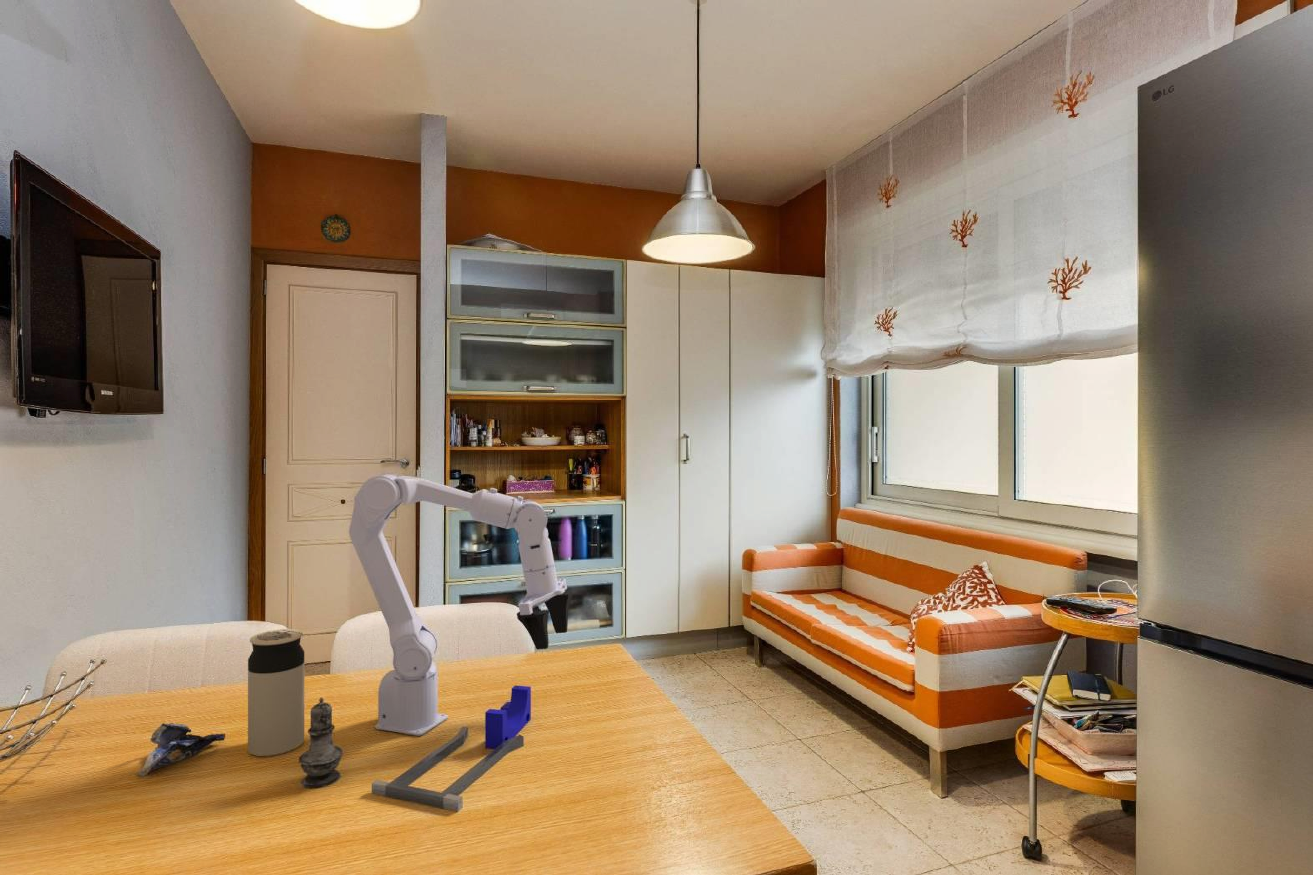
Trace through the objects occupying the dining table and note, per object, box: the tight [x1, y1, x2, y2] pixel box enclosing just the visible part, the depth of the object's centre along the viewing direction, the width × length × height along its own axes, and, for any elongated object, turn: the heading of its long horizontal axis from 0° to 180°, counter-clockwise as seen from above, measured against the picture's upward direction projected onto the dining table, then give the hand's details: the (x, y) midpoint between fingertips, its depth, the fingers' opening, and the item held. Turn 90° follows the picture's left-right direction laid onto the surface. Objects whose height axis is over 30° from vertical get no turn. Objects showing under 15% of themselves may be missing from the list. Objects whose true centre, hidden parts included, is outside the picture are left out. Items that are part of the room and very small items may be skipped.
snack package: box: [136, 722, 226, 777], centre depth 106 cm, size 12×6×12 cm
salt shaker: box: [298, 697, 344, 790], centre depth 99 cm, size 6×6×12 cm
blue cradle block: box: [484, 685, 532, 751], centre depth 114 cm, size 12×4×6 cm, turn 169°
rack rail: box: [371, 726, 525, 812], centre depth 102 cm, size 14×20×2 cm
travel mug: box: [247, 628, 305, 757], centre depth 109 cm, size 8×8×18 cm
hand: (552, 640), depth 122 cm, fingers open, 7 cm apart
